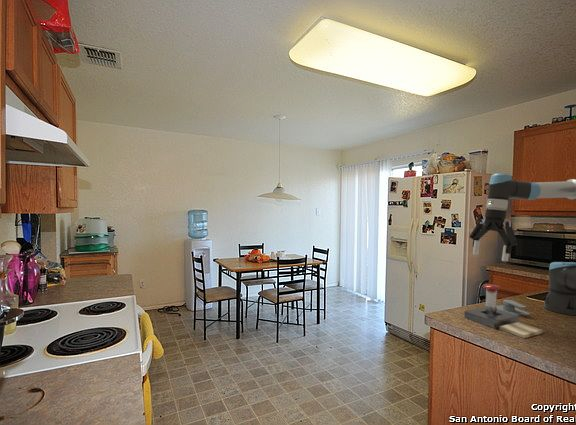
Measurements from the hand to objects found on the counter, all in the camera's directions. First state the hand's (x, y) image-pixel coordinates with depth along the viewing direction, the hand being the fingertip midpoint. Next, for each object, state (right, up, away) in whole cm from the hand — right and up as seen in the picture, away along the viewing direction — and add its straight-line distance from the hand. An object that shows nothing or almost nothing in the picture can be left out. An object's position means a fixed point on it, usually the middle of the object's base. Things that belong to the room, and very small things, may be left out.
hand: (489, 257), depth 135 cm
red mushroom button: (+1, -27, 0) cm, 27 cm away
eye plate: (+1, -27, 0) cm, 27 cm away
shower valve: (+17, -28, +10) cm, 34 cm away
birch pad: (+5, -27, -12) cm, 30 cm away
